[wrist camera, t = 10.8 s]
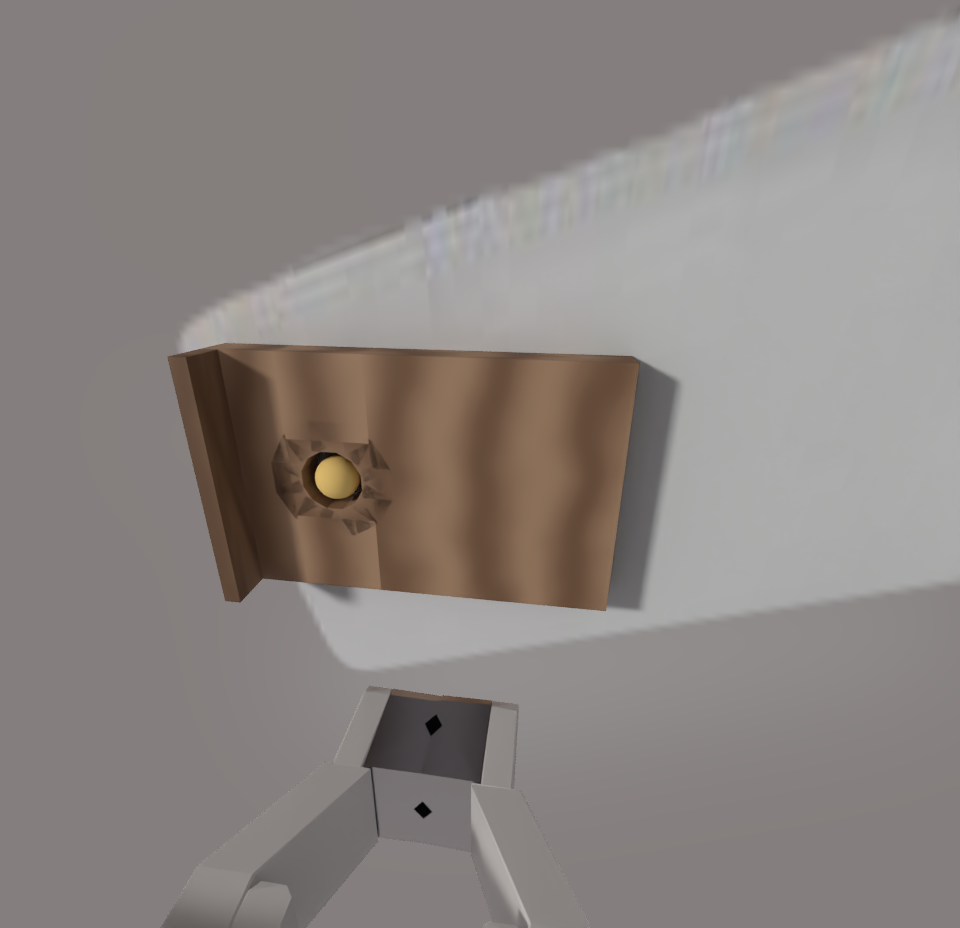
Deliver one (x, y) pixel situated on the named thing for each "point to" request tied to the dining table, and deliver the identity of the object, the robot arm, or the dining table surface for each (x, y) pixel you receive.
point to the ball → (337, 477)
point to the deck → (412, 468)
